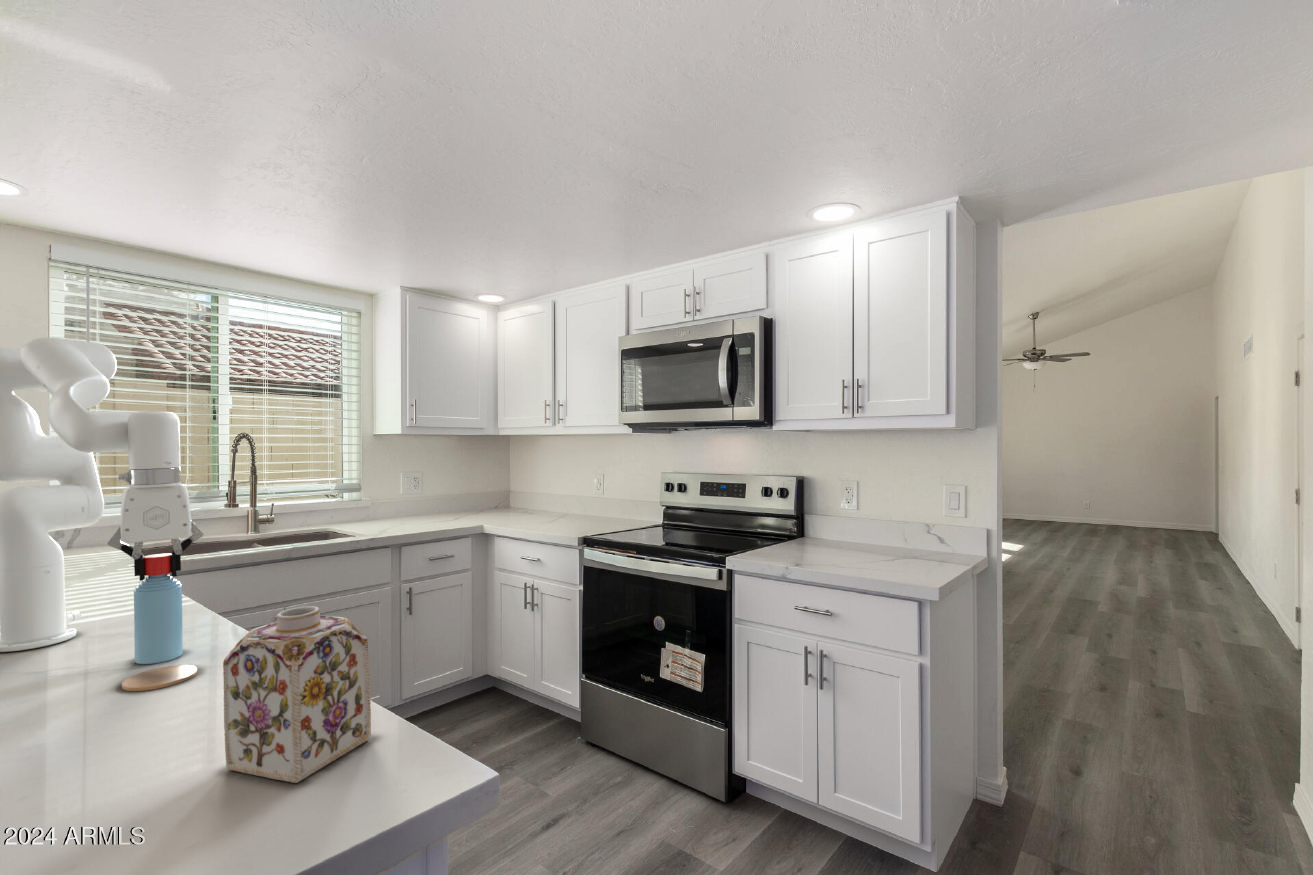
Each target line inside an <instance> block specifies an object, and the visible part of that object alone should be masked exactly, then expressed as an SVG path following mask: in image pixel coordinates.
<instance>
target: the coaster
mask: <svg viewBox="0 0 1313 875" xmlns="http://www.w3.org/2000/svg"><path fill="white" fill-rule="evenodd" d="M196 675H198V668H197V666H195V665H189V664H179V665H178V664H177V665H169V666H163V667H158V668H152V669H149V670H145V671H142V672H139V673H137V674H134V675H131V676H129V677H127V678H125V679H124V680H123V681H122V683H121V689H122V690H123V691H125V692H126V691H127V692H144V691H152V690H159V689H162V688H168V687H171V686H174V685H178V684H181V683H183V682H186V681H188V680H190V679H192V678H194V677H195V676H196Z"/></svg>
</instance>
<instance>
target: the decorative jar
mask: <svg viewBox="0 0 1313 875" xmlns="http://www.w3.org/2000/svg"><path fill="white" fill-rule="evenodd" d="M369 654H370V653H369V640H368V638H367V636H365V635H364V633H363V632H362V631H361V629H358V627H357V626H356V625H355V624H354V623H352V622H351V621H350V620H349V619H348V618H347V617H343V616H334V615H321V612H320V608H319V607H318V606H315V605H306V606H298V607H297V606H296V607H293V608H289V609H284V610H282V611H280V612H278V613H277V614H276V621H275V622H271V623H268V624H264V625H260V626H258V627H255V628H253V629H250V630H249V631H248V632H247V633H246V634H245V635H244V636H243V637H242V638H241V639H240V640H239V641H238V642H237V643H236V645H235V646H234V647H233V648H232V649H231V650H230V652H229V653H228V655H226V657H225V658H224V659H223V662H222V664H223V665H222V669H223V670H222V671H223V672H222V673H223V674H222V675H223V677H222V678H223V730H224V733H223V734H224V753H225V769H226V770H227V771H234V772H239V773H243V774H247V775H253V776H257V777H262V778H266V779H270V780H275V781H276V780H277V781H283V782H289V783H292V784H297V783H299V782H301V781H303V780H305V779H307V778H308V777H309V776H311V775H313V774H315V773H316V772H318V771H319V770H321V769H323V768H324V767H326V766H328V765H330V764H331V763H333V762H334V761H336V760H337V759H339V758H341V757H343V756H344V755H347V753H349V752H351V751H352V750H355V749H356V748H358V747H359V746H361V745H362V744H364V743H366V742H368V741H369V740H370V738H371V736H372V709H371V707H372V706H371V705H372V704H371V703H372V701H371V681H370V680H371V679H370V656H369Z"/></svg>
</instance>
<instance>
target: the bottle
mask: <svg viewBox="0 0 1313 875" xmlns="http://www.w3.org/2000/svg"><path fill="white" fill-rule="evenodd" d="M134 588H135V589H134V590H133V627H134V628H133V634H134V637H133V638H134V639H133V640H134V641H133V642H134V663H135V664H138V665H153V664H158V663H165V662H168V661H171V660H175V659H177V658H179V657H181V656H182V655H183V653H184V647H183V646H184V644H183V642H184V641H183V638H184V636H183V632H184V631H183V584H182V583H181V581H179V580H178V579H177V578H175V577H173V576H171V574H169V573H168V574H164V575H156V576H145V580H143V581H141V582H140V583H139V584H138V585H136V586H135V587H134Z"/></svg>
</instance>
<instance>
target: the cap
mask: <svg viewBox="0 0 1313 875" xmlns="http://www.w3.org/2000/svg"><path fill="white" fill-rule="evenodd" d="M171 556H172V553H155V554H148V555H145V556H144V555H143V557H144V573H145V577H148V576H156V575H164V574H168V575H169V574H172V568H171Z"/></svg>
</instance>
